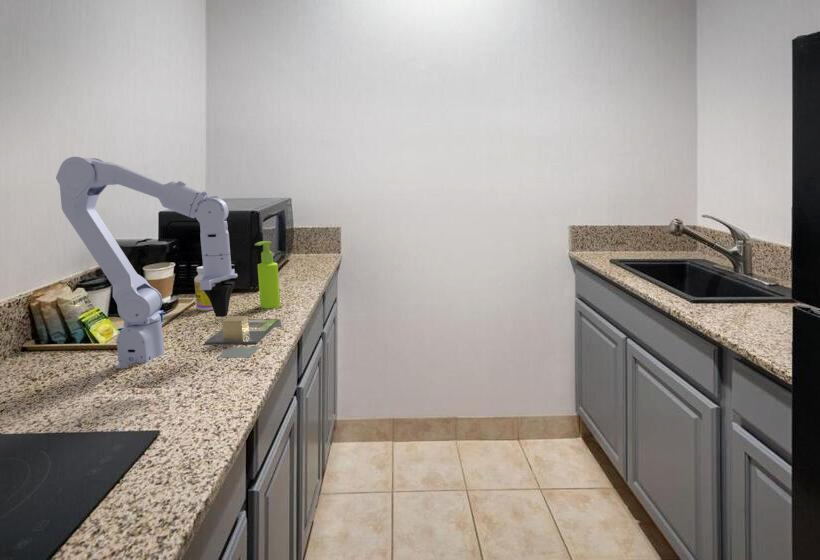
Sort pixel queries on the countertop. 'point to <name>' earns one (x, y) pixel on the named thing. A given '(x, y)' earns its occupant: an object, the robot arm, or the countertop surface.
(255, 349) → the grey square pad
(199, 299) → the supplement bottle
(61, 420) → the countertop surface
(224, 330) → the block
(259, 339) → the plate
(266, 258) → the soap dispenser
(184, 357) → the countertop surface
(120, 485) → the countertop surface
